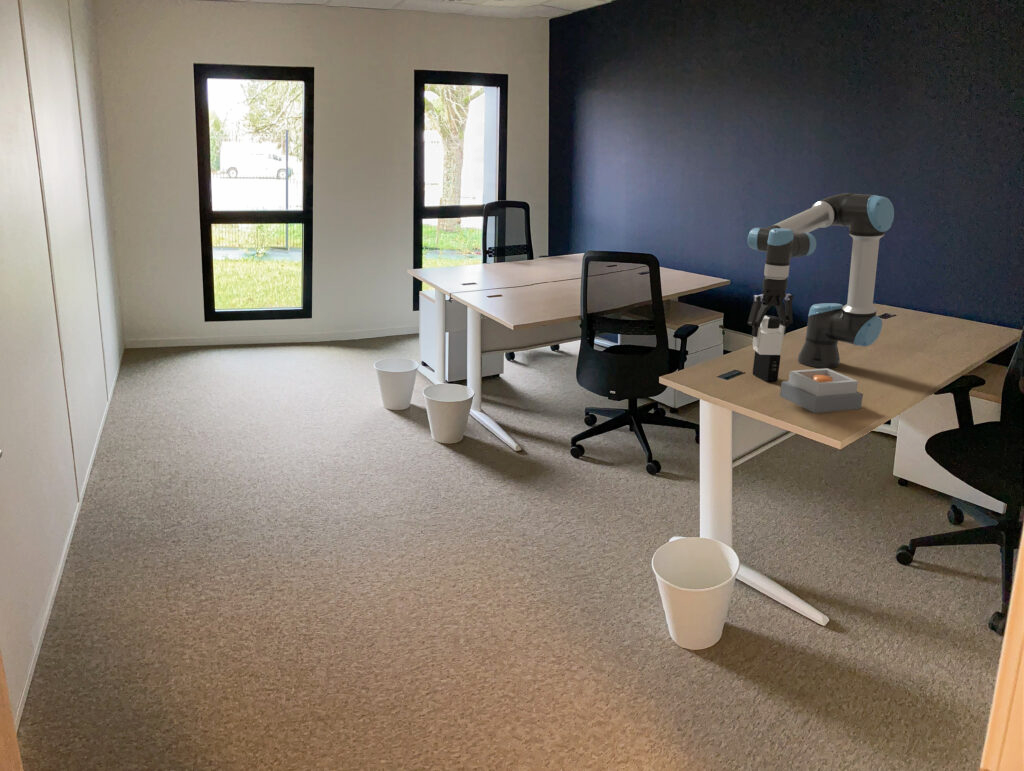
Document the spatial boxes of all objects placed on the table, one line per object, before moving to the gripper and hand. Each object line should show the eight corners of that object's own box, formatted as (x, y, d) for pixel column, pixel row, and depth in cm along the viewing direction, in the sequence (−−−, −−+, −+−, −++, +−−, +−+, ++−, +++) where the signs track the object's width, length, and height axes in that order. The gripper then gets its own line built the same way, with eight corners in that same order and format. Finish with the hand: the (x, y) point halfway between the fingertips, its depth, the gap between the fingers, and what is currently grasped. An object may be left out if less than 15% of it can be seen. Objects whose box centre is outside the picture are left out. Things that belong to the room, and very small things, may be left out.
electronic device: (767, 382, 295) (770, 355, 292) (752, 374, 304) (755, 348, 301) (777, 382, 296) (781, 354, 293) (762, 374, 305) (765, 347, 302)
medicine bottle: (773, 349, 280) (778, 314, 277) (780, 355, 274) (785, 319, 270) (752, 349, 280) (756, 314, 276) (759, 354, 273) (763, 319, 270)
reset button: (822, 389, 278) (824, 374, 276) (834, 394, 272) (836, 379, 271) (807, 390, 276) (809, 375, 274) (819, 396, 270) (821, 380, 269)
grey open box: (824, 392, 286) (828, 366, 283) (860, 408, 270) (865, 382, 267) (779, 395, 280) (783, 370, 278) (814, 413, 264) (817, 386, 261)
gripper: (796, 274, 276) (787, 340, 283) (740, 276, 269) (733, 344, 276) (810, 278, 269) (801, 346, 276) (754, 280, 263) (746, 350, 270)
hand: (767, 345), depth 276 cm, fingers closed on medicine bottle, 8 cm apart
